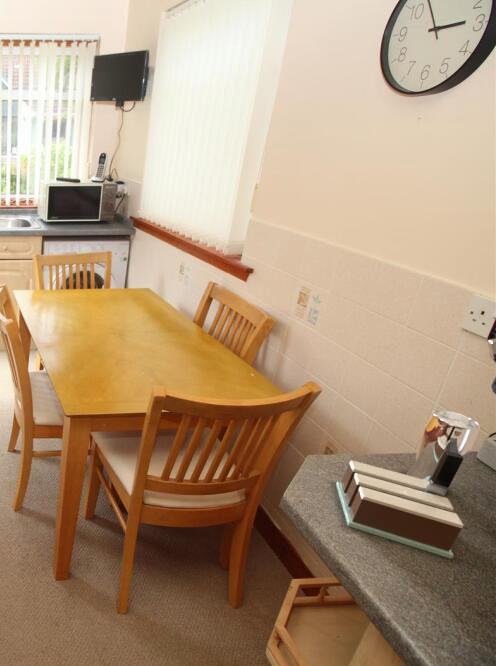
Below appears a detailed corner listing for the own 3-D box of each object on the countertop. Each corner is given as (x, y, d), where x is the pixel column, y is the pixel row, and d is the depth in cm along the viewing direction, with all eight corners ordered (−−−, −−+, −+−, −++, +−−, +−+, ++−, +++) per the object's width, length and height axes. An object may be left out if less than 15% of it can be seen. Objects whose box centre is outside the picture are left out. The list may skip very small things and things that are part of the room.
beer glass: (445, 501, 89) (480, 434, 83) (398, 481, 93) (428, 416, 88) (450, 485, 93) (484, 420, 87) (405, 467, 98) (434, 404, 92)
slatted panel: (427, 511, 86) (441, 482, 84) (452, 559, 76) (469, 529, 74) (335, 484, 92) (346, 457, 89) (347, 526, 82) (360, 497, 79)
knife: (429, 517, 83) (462, 454, 78) (432, 522, 82) (466, 459, 77) (411, 512, 84) (443, 449, 79) (414, 517, 83) (446, 454, 78)
